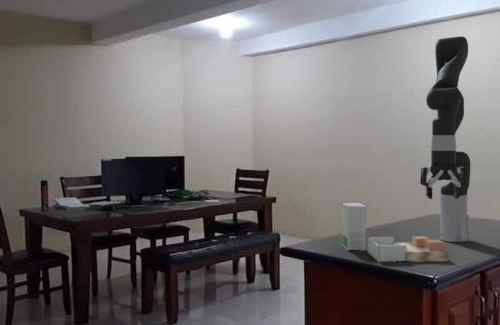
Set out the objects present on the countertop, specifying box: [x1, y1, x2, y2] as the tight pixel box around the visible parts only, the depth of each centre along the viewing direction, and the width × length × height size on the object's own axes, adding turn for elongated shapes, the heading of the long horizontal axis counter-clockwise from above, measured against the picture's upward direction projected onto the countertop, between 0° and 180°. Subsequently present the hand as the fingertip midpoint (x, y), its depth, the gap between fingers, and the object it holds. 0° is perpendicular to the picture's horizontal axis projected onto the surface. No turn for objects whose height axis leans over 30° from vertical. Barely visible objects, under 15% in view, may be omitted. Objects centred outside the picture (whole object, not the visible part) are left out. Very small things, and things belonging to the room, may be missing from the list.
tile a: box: [411, 235, 431, 247], centre depth 161 cm, size 4×4×2 cm
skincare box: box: [341, 202, 367, 251], centre depth 171 cm, size 8×7×16 cm
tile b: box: [424, 239, 445, 251], centre depth 155 cm, size 4×4×2 cm
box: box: [366, 236, 407, 263], centre depth 159 cm, size 9×14×5 cm, turn 0°
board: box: [394, 242, 449, 263], centre depth 159 cm, size 13×14×3 cm
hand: (443, 198), depth 161 cm, fingers open, 8 cm apart
